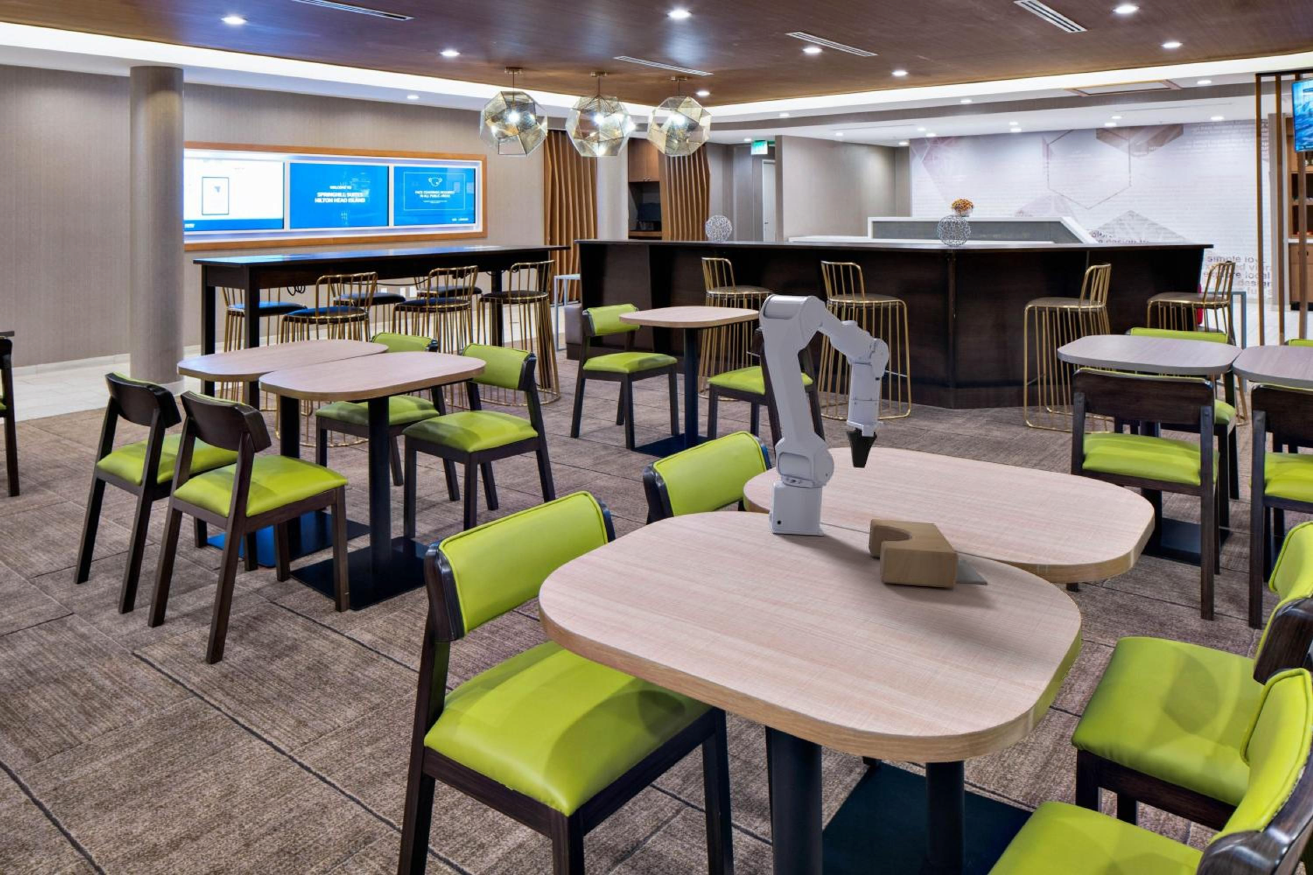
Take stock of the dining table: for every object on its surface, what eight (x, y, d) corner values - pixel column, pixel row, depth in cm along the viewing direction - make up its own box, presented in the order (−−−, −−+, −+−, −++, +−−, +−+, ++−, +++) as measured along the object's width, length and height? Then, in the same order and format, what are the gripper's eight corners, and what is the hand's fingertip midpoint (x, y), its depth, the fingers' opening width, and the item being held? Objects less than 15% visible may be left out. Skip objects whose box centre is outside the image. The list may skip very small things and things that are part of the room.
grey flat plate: (896, 578, 148) (896, 576, 148) (881, 558, 160) (881, 555, 160) (986, 584, 148) (986, 581, 148) (964, 562, 160) (965, 560, 160)
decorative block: (867, 549, 164) (881, 582, 144) (870, 517, 163) (885, 546, 143) (932, 555, 163) (955, 590, 143) (936, 523, 162) (960, 553, 142)
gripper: (892, 404, 178) (886, 475, 180) (878, 396, 192) (872, 461, 194) (854, 402, 178) (848, 473, 180) (843, 394, 192) (838, 460, 194)
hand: (858, 467), depth 187 cm, fingers closed
